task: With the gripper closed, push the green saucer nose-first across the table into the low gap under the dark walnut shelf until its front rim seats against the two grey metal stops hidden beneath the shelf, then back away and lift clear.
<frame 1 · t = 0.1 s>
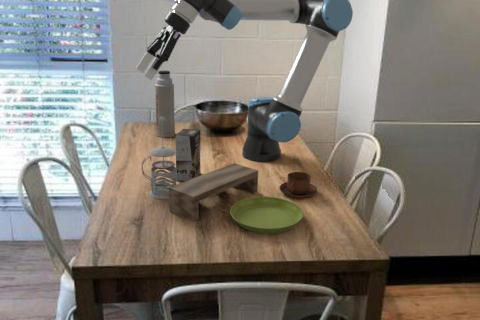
hand: (143, 74, 158), 36 cm above the table, tool tilted 35°, fingers open, 13 cm apart
coffee box: (188, 177, 175), on the table
cup and saucer: (297, 194, 163), on the table
french press: (161, 193, 161), on the table
thermos bottle: (165, 135, 222), on the table
saucer: (266, 221, 144), on the table
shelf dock: (215, 201, 155), on the table
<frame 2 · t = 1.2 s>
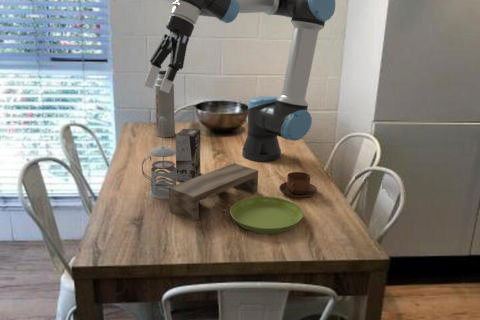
hand: (155, 89, 145), 34 cm above the table, tool tilted 25°, fingers open, 13 cm apart
nothing on the table moved.
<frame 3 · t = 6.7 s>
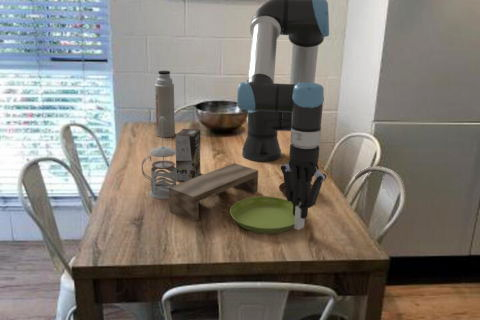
hand: (299, 227, 137), 1 cm above the table, tool pointing down, fingers closed
saucer: (266, 221, 144), on the table, touching gripper
everything else where it was.
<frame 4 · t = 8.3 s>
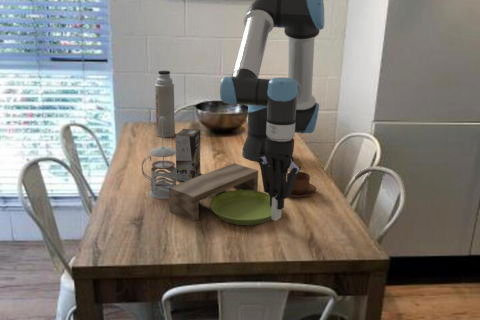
hand: (276, 218, 141), 2 cm above the table, tool pointing down, fingers closed
saucer: (245, 214, 148), on the table, touching gripper
everything else where it was.
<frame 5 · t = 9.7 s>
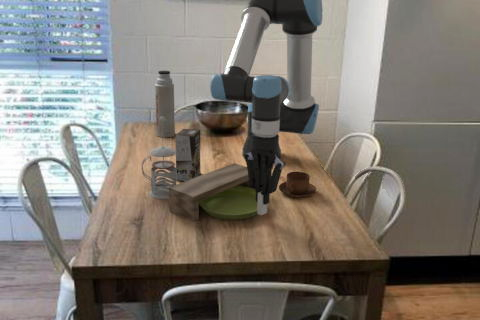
hand: (262, 213, 144), 2 cm above the table, tool pointing down, fingers closed
saucer: (232, 209, 151), on the table
everything else where it was.
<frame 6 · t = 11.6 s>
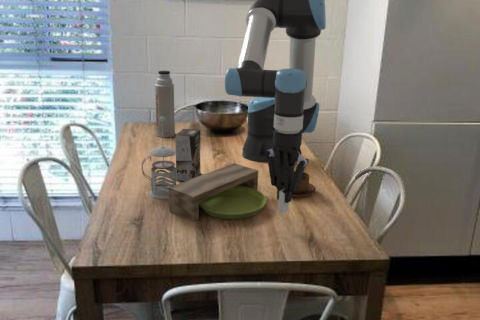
hand: (283, 211, 139), 4 cm above the table, tool pointing down, fingers closed
nothing on the table moved.
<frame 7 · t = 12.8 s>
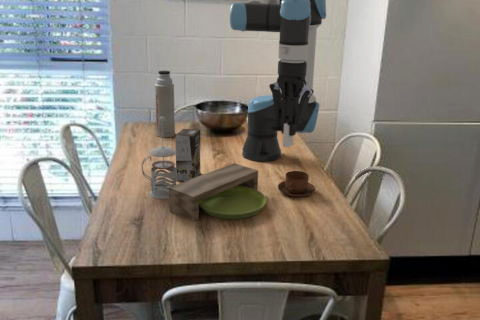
hand: (287, 145, 140), 21 cm above the table, tool pointing down, fingers closed
nothing on the table moved.
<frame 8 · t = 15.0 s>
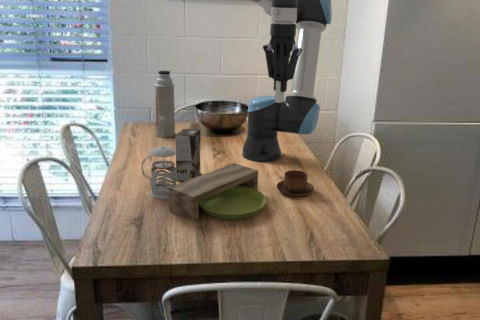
hand: (279, 101, 156), 29 cm above the table, tool pointing down, fingers closed
at the end: saucer 1.1 cm from the target spot on the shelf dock, point -0.5 cm above the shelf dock's base; saucer tilted 0° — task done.
